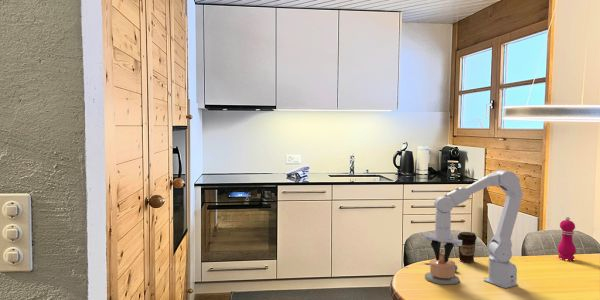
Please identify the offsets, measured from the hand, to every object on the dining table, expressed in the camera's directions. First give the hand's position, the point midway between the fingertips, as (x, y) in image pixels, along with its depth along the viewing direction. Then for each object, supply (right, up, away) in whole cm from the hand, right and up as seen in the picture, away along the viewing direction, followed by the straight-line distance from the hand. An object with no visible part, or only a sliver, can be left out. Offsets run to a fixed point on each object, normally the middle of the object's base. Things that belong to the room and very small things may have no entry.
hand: (442, 260), depth 159 cm
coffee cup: (+20, -7, +24) cm, 32 cm away
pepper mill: (+69, -7, +28) cm, 75 cm away
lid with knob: (0, -5, +1) cm, 5 cm away
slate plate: (0, -7, 0) cm, 7 cm away
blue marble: (+8, -7, +10) cm, 15 cm away
